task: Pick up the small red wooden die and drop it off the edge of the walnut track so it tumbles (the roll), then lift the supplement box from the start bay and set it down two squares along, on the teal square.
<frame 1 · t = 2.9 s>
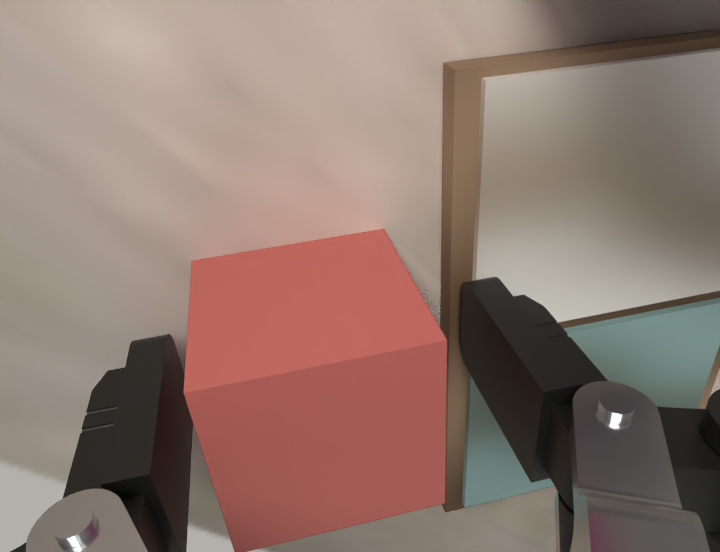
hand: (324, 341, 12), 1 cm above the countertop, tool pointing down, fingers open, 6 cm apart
die: (301, 319, 13), on the countertop
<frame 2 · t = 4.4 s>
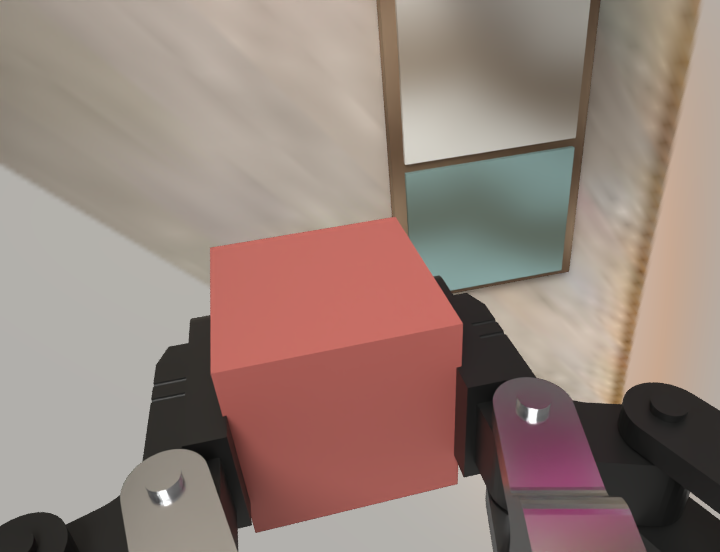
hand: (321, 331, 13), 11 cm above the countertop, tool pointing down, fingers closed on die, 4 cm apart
die: (315, 307, 13), point 10 cm above the countertop, touching gripper
when the fingers open (7 cm above the countertop, at t = 5.4 s): die drops 5 cm and tips over, point 2 cm above the countertop.
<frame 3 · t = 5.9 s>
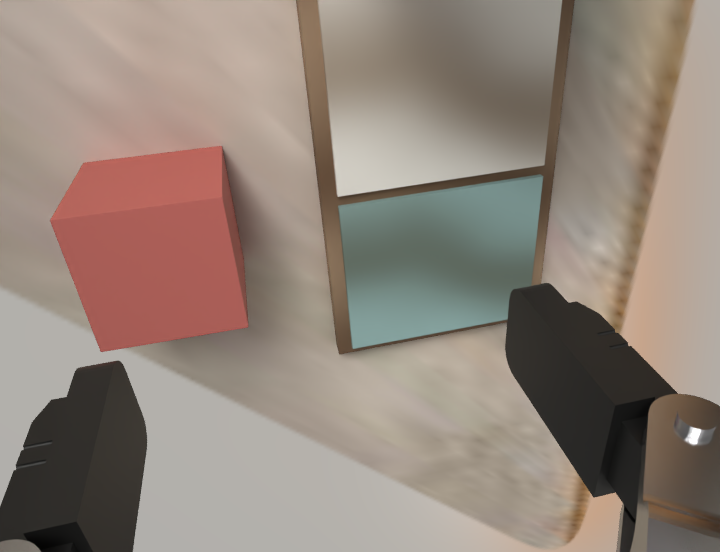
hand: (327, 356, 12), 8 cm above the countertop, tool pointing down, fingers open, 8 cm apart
die: (234, 232, 17), point 2 cm above the countertop, tilted 90°
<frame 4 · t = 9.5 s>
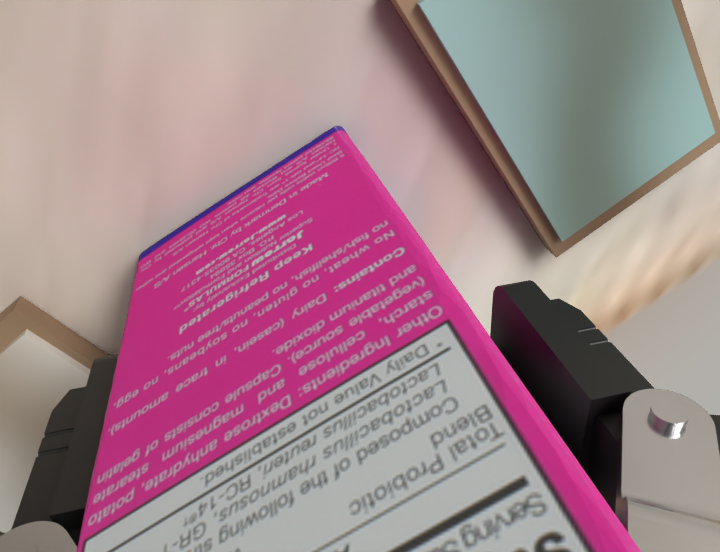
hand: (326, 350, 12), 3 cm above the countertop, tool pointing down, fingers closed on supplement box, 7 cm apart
track: (195, 353, 15), on the countertop
supplement box: (303, 265, 15), on the countertop, touching gripper
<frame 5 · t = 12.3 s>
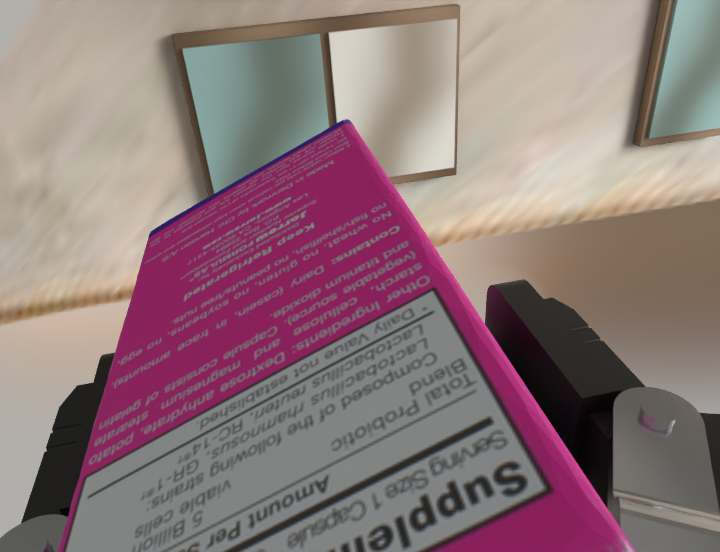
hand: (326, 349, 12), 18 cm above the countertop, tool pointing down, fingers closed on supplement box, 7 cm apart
track: (482, 89, 28), on the countertop
supplement box: (306, 254, 15), point 14 cm above the countertop, touching gripper
when the fingers open (5 cm above the countertop, at t = 15.2 s): supplement box stays where it is, resting on track.
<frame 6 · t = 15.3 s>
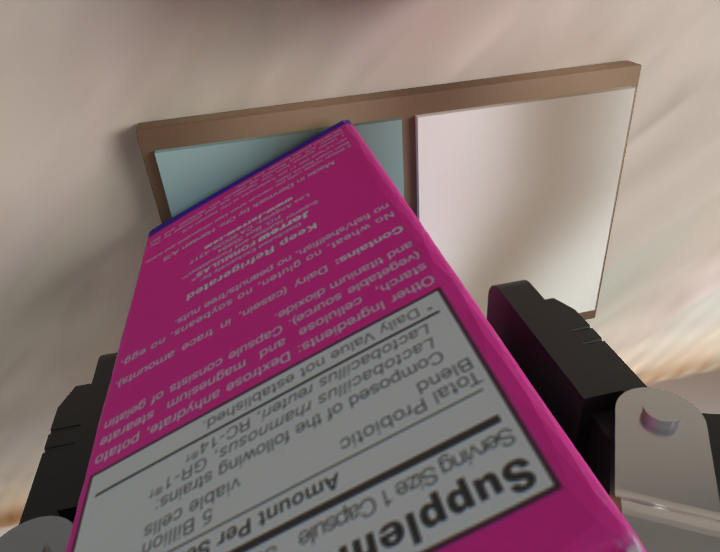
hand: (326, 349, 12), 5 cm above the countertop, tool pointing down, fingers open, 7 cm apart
track: (648, 191, 17), on the countertop
supplement box: (305, 253, 15), point 1 cm above the countertop, touching track
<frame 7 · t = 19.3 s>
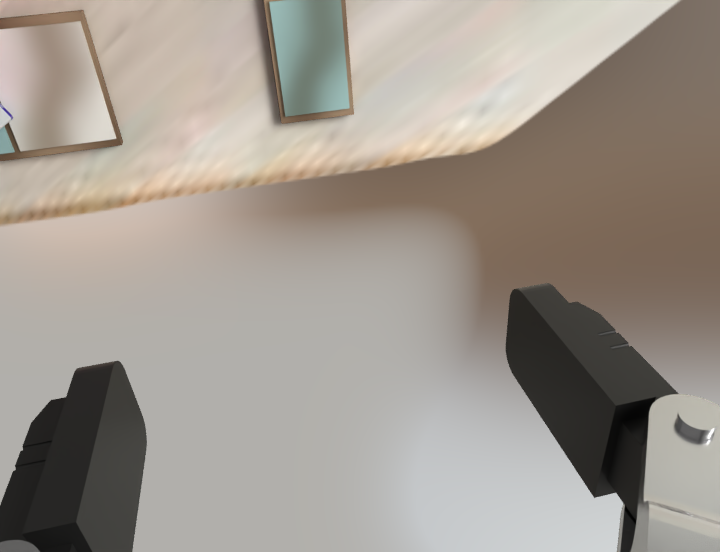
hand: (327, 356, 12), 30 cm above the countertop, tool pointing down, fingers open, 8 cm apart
track: (129, 77, 36), on the countertop
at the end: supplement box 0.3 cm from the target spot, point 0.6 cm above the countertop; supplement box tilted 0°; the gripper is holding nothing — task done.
